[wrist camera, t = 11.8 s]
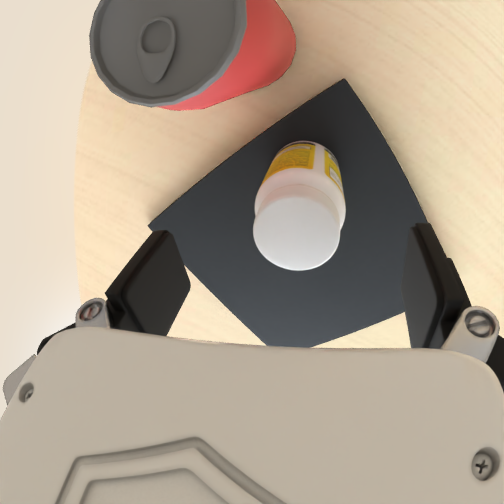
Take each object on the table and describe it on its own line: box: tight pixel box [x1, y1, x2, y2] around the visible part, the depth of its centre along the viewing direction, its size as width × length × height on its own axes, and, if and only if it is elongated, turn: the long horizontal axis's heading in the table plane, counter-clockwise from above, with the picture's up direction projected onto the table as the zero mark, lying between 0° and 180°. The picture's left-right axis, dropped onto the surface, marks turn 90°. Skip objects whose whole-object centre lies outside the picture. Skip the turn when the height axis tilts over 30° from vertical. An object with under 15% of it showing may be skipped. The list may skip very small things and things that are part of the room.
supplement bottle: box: [253, 141, 346, 270], centre depth 17 cm, size 5×5×8 cm
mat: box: [148, 79, 428, 348], centre depth 24 cm, size 20×20×1 cm
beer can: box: [89, 0, 296, 111], centre depth 11 cm, size 7×7×12 cm
